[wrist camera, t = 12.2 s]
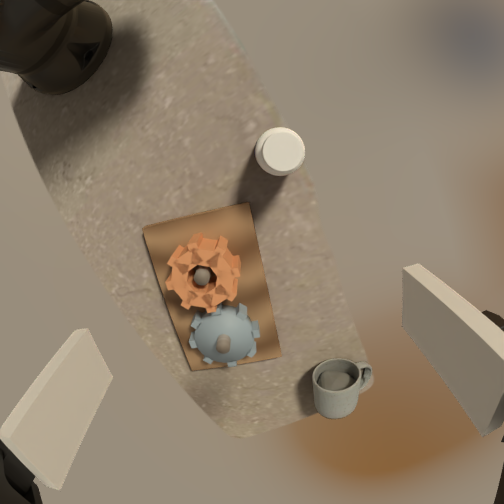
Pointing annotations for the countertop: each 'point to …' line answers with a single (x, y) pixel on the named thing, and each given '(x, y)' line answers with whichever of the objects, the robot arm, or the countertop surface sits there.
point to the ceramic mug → (338, 386)
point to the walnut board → (249, 283)
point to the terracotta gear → (210, 256)
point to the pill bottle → (279, 151)
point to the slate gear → (228, 323)
